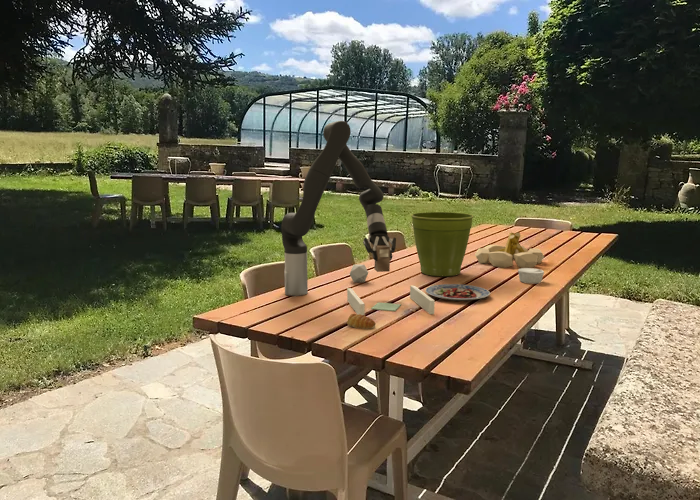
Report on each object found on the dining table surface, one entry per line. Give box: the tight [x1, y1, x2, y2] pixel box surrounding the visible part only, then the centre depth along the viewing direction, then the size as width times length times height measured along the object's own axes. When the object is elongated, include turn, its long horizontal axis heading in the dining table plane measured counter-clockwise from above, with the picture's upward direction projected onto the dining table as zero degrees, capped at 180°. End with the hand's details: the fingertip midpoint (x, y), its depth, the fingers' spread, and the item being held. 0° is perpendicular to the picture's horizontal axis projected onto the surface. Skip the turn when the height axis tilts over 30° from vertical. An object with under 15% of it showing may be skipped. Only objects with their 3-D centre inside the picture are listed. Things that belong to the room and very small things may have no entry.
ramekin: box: [517, 267, 545, 285], centre depth 248 cm, size 11×11×5 cm
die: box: [349, 264, 369, 283], centre depth 247 cm, size 8×9×10 cm
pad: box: [371, 302, 402, 312], centre depth 204 cm, size 9×9×1 cm
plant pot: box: [410, 211, 474, 277], centre depth 264 cm, size 30×30×29 cm
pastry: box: [346, 313, 377, 330], centre depth 180 cm, size 9×7×4 cm
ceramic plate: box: [425, 283, 491, 302], centre depth 221 cm, size 26×26×3 cm
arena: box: [346, 285, 436, 316], centre depth 204 cm, size 27×24×5 cm
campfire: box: [474, 232, 545, 269], centre depth 294 cm, size 35×34×17 cm
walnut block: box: [374, 245, 391, 273], centre depth 219 cm, size 5×5×10 cm
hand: (383, 259), depth 218 cm, fingers closed on walnut block, 5 cm apart
